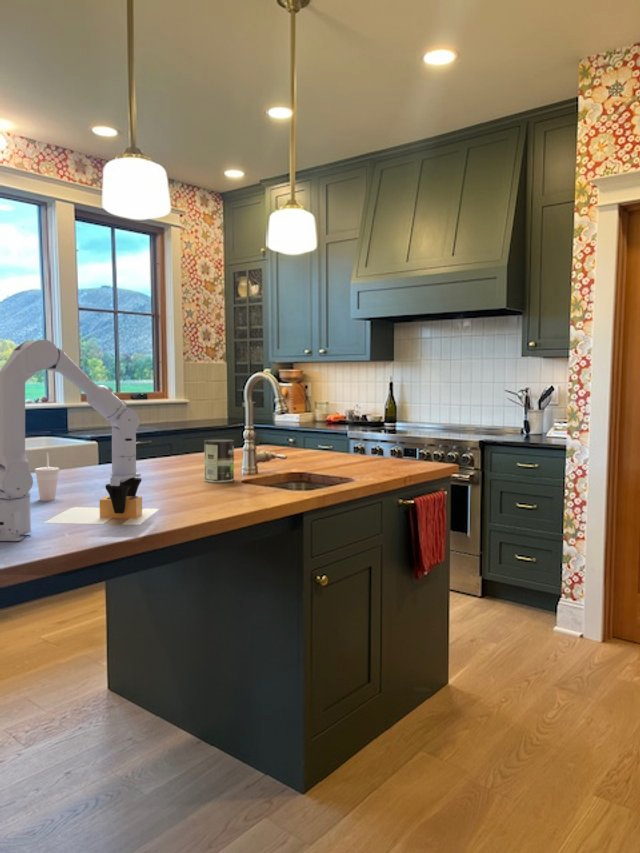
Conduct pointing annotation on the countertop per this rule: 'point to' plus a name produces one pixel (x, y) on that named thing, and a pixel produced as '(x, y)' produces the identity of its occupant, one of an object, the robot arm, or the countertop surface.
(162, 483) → the countertop surface
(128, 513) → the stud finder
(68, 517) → the drywall panel
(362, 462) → the countertop surface
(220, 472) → the coffee can
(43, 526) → the countertop surface
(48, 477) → the smoothie
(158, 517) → the countertop surface
